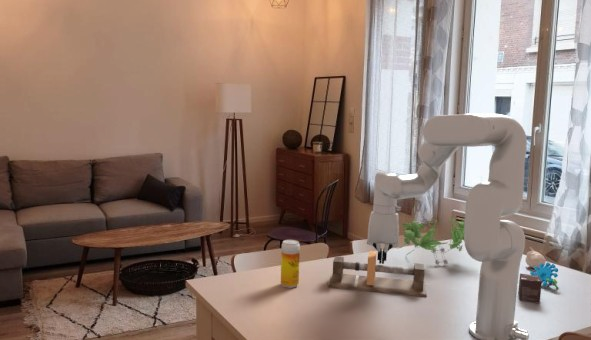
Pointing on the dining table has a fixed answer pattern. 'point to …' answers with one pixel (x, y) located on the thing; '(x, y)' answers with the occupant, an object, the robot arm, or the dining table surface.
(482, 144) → the robot arm
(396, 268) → the pipe stand
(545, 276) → the blue lobed piece
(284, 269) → the beer can
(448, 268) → the dining table surface
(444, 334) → the dining table surface
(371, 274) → the collar
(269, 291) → the dining table surface
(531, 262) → the garlic bulb
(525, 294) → the box
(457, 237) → the plant cuttings
